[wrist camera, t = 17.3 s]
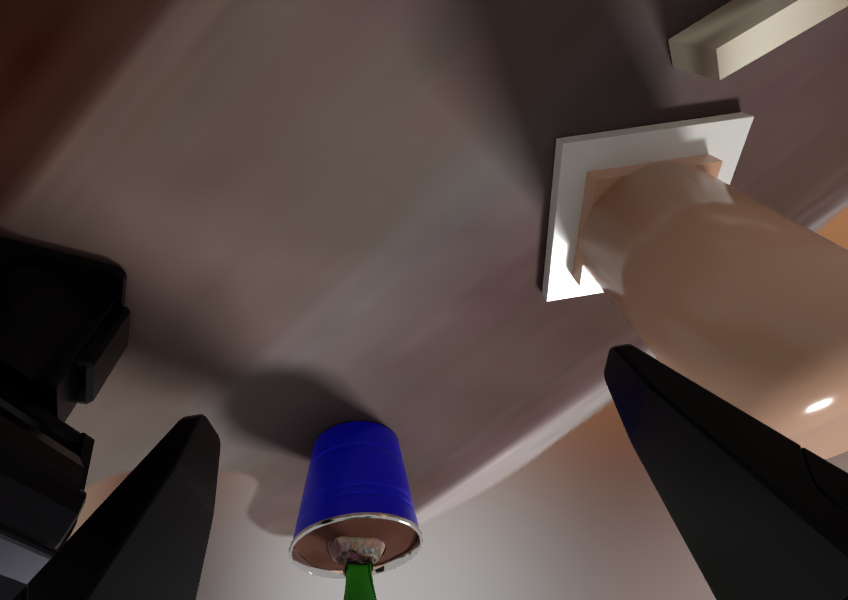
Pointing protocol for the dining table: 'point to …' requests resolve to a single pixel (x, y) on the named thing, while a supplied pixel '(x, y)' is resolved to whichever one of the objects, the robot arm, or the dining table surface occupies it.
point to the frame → (744, 33)
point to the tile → (619, 150)
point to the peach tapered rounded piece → (724, 292)
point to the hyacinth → (355, 508)
